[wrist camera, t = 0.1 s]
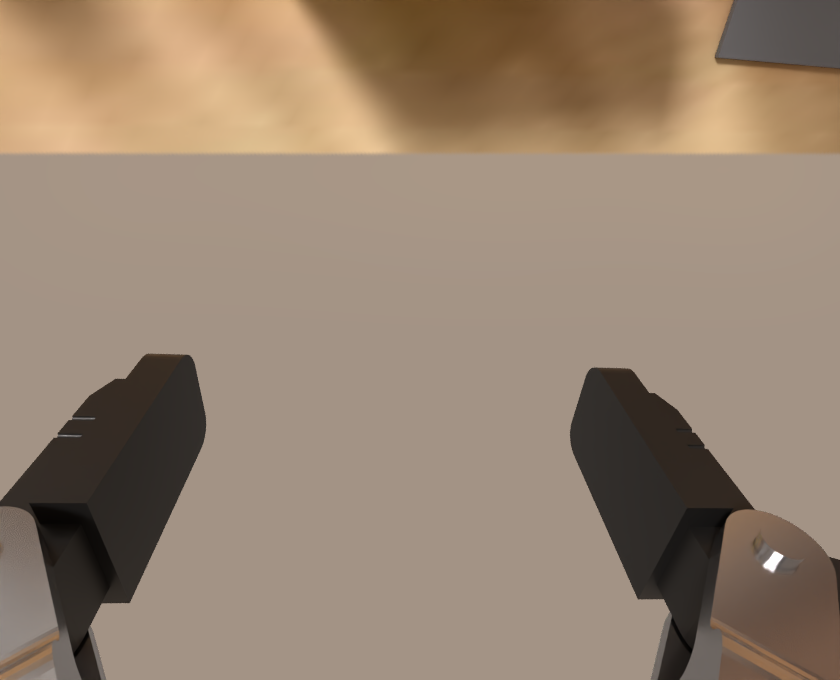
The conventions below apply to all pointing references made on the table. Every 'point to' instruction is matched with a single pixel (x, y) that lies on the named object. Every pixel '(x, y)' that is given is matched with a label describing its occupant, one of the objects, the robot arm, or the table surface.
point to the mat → (783, 32)
